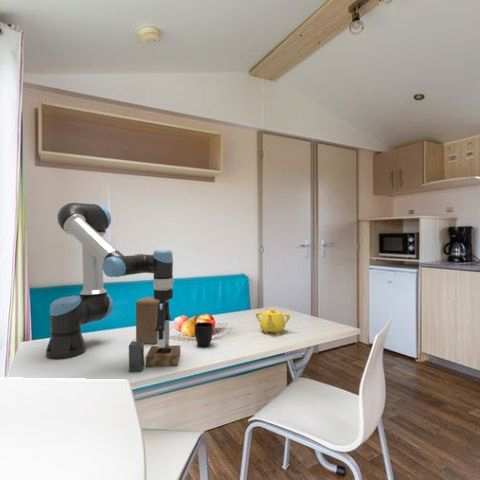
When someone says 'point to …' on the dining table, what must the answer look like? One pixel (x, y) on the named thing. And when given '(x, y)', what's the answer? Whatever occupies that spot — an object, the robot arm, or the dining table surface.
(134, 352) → the square bit
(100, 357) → the dining table surface
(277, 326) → the teapot
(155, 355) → the bore block
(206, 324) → the mug
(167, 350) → the bar
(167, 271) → the robot arm
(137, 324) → the wooden block
